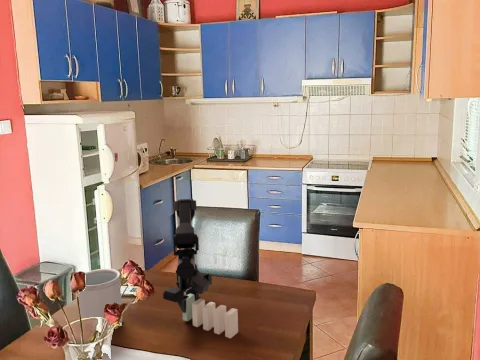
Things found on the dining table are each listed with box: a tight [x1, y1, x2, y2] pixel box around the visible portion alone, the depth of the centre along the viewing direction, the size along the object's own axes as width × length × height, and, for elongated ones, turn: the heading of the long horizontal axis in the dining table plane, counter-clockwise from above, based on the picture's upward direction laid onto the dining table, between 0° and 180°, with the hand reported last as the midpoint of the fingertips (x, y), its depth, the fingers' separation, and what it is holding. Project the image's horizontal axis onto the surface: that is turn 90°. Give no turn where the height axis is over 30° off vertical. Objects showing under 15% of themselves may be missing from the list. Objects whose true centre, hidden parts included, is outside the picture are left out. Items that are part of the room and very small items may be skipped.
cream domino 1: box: [192, 298, 206, 328], centre depth 148 cm, size 2×4×8 cm, turn 146°
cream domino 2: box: [202, 301, 217, 332], centre depth 145 cm, size 2×4×8 cm, turn 146°
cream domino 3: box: [213, 304, 227, 335], centre depth 143 cm, size 2×4×8 cm, turn 146°
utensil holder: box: [77, 268, 123, 330], centre depth 148 cm, size 15×15×18 cm
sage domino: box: [181, 294, 195, 322], centre depth 150 cm, size 2×4×8 cm, turn 146°
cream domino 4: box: [224, 307, 239, 339], centre depth 141 cm, size 2×4×8 cm, turn 146°
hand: (188, 309), depth 150 cm, fingers closed on sage domino, 4 cm apart
